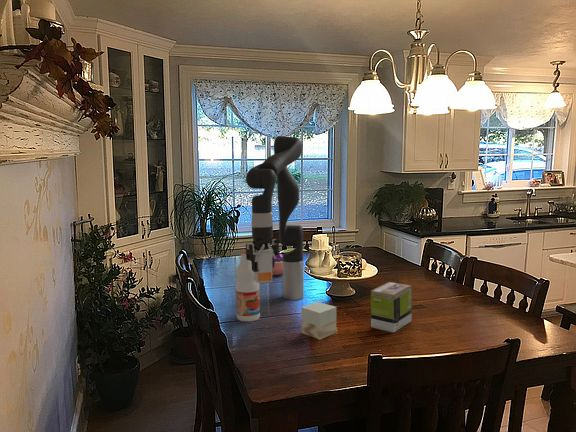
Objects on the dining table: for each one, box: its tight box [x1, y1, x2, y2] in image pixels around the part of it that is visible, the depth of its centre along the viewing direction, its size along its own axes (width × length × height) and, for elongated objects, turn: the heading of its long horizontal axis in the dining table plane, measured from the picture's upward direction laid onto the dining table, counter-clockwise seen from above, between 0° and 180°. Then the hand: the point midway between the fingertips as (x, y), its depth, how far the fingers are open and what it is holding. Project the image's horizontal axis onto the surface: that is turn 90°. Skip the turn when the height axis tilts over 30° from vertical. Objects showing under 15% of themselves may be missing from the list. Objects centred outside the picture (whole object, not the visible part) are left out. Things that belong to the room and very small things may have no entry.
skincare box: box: [254, 249, 273, 284], centre depth 175 cm, size 6×4×12 cm
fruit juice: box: [235, 248, 261, 323], centre depth 193 cm, size 9×9×28 cm
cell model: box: [272, 252, 284, 276], centre depth 262 cm, size 17×20×11 cm
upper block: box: [301, 301, 337, 326], centre depth 177 cm, size 9×9×5 cm
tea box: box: [370, 281, 413, 333], centre depth 184 cm, size 15×10×15 cm
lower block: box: [301, 320, 337, 341], centre depth 178 cm, size 9×9×5 cm
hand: (263, 269), depth 175 cm, fingers closed on skincare box, 7 cm apart
